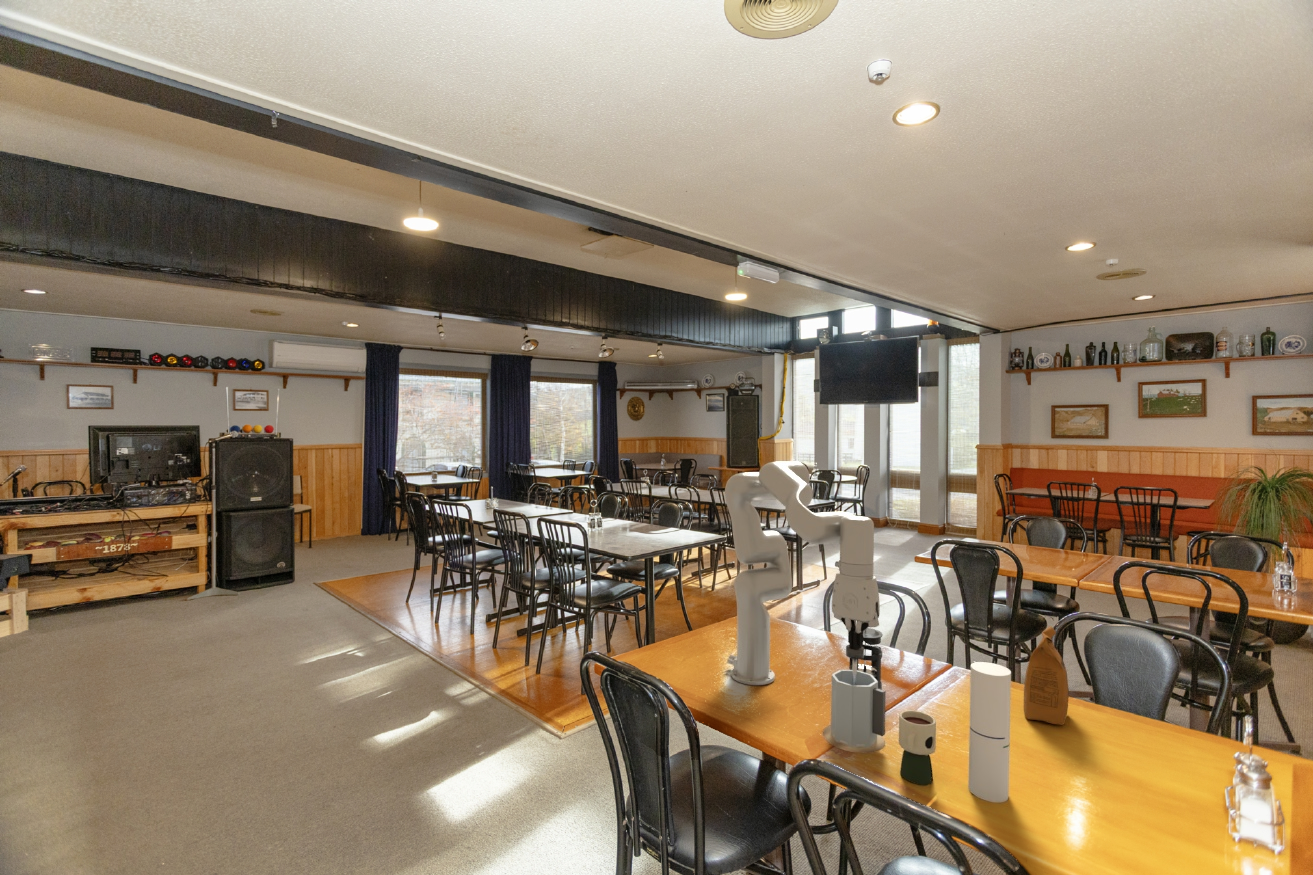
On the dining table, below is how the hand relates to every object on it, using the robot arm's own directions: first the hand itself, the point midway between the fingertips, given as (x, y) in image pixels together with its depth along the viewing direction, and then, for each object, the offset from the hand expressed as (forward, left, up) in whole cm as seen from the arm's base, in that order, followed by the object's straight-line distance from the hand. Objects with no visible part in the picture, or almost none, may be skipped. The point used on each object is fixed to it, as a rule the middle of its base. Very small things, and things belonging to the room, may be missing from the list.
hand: (855, 647), depth 144 cm
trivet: (0, 0, -22) cm, 22 cm away
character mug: (+17, -6, -22) cm, 28 cm away
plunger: (0, 0, -12) cm, 12 cm away
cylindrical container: (+29, 0, -22) cm, 36 cm away
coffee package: (+29, +47, -22) cm, 59 cm away
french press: (-10, +27, -22) cm, 36 cm away
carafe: (+1, 0, -21) cm, 21 cm away
